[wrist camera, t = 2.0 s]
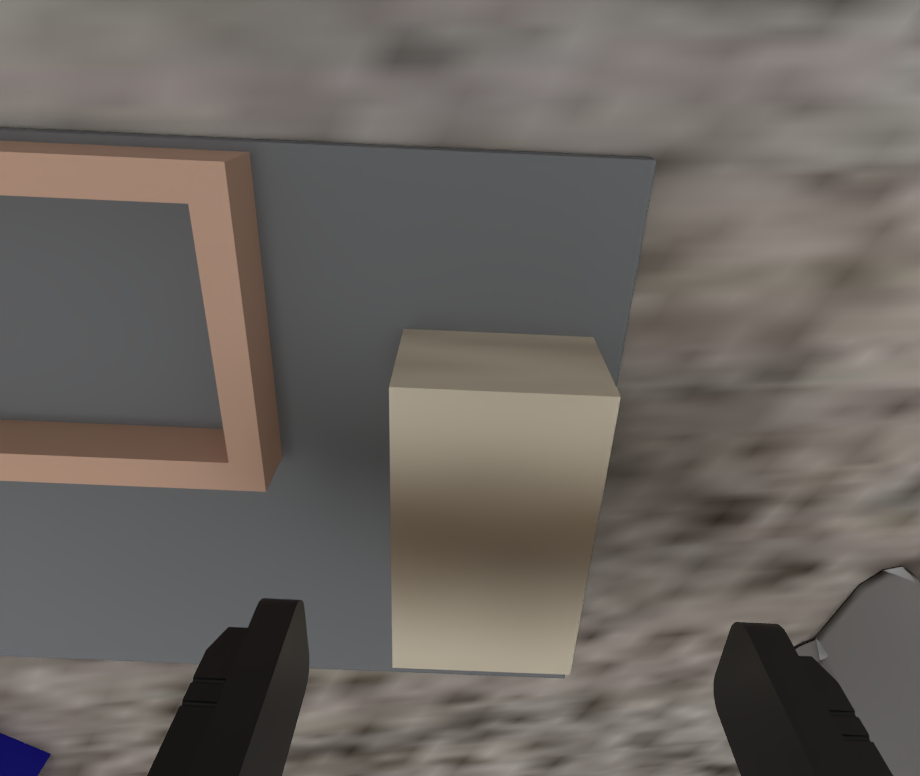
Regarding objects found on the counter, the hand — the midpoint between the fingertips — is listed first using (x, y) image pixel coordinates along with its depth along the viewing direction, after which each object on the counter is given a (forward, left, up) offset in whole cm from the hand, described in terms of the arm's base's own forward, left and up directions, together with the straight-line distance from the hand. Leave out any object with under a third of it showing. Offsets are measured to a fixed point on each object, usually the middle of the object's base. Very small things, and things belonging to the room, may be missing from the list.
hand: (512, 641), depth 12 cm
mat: (-7, 0, -6) cm, 9 cm away
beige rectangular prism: (0, 0, -5) cm, 5 cm away
